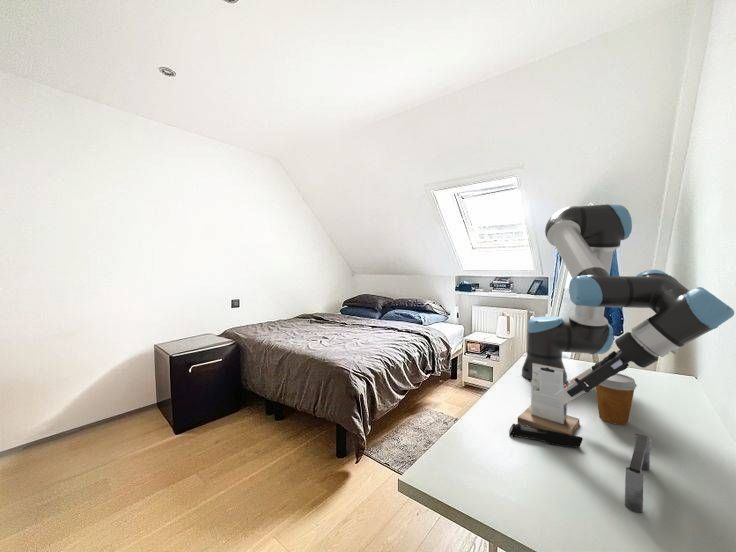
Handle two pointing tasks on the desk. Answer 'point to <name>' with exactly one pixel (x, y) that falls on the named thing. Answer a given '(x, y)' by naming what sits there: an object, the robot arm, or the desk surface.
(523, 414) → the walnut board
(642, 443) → the dark grey cabinet handle
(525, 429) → the electric trimmer
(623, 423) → the disposable coffee cup
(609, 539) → the desk surface
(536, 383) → the ink box
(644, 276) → the robot arm
